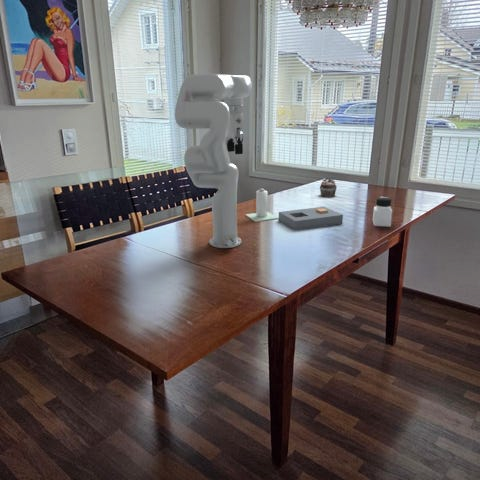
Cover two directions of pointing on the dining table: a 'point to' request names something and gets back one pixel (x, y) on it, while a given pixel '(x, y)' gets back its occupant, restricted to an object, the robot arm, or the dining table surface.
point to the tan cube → (321, 211)
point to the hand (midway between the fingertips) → (234, 152)
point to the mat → (257, 219)
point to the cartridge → (261, 203)
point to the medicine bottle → (382, 212)
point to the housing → (309, 218)
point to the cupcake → (328, 187)
